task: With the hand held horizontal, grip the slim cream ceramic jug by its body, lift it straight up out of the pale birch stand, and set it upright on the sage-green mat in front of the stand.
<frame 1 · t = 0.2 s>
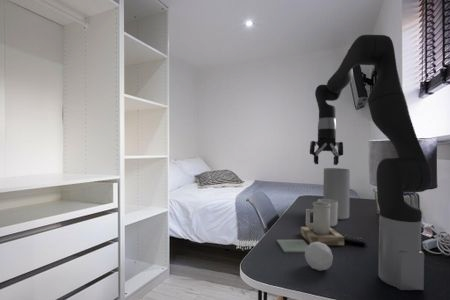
hand: (326, 164, 110), 28 cm above the table, tool pointing down, fingers open, 8 cm apart
cylinder vase: (335, 216, 128), on the table
mat: (294, 246, 88), on the table
jug: (318, 221, 95), in the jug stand
mug: (327, 223, 116), on the table
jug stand: (321, 239, 95), on the table
geometric ball: (318, 269, 72), on the table
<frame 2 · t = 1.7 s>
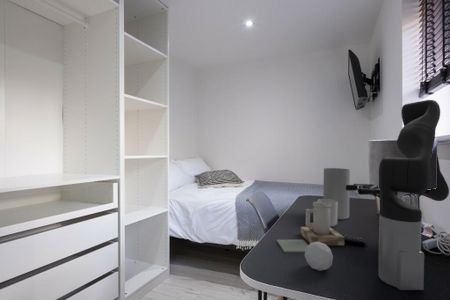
hand: (352, 189, 96), 20 cm above the table, tool horizontal, fingers open, 8 cm apart
nothing on the table moved.
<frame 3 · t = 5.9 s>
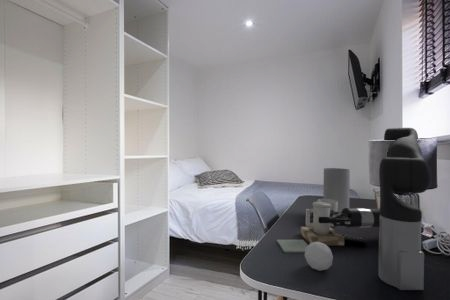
hand: (315, 217, 95), 9 cm above the table, tool horizontal, fingers closed on jug, 6 cm apart
jug: (318, 221, 95), in the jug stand, touching gripper
everything else where it was.
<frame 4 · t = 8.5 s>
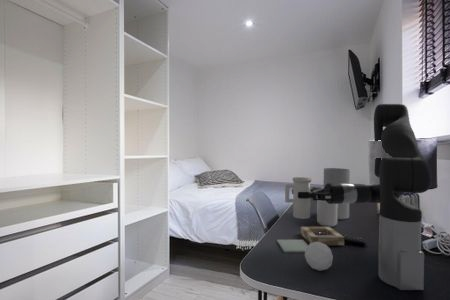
hand: (295, 193, 90), 19 cm above the table, tool horizontal, fingers closed on jug, 6 cm apart
jug: (298, 197, 90), point 17 cm above the table, touching gripper
everything else where it was.
when the fingers open (10 cm above the table, at t = 10.9 s): jug drops 1 cm, resting on mat.
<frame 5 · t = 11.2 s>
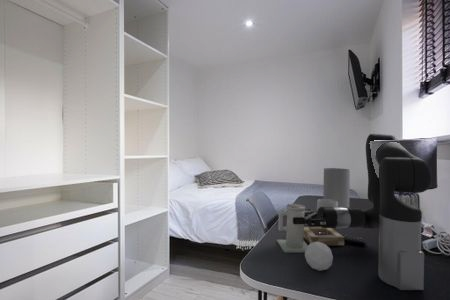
hand: (289, 217, 88), 11 cm above the table, tool horizontal, fingers open, 8 cm apart
jug: (291, 225, 88), on the mat, point 8 cm above the table
everything else where it was.
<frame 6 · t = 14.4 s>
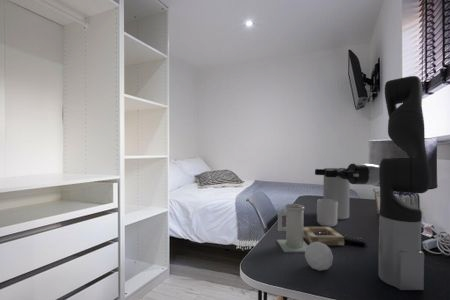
hand: (320, 172, 88), 27 cm above the table, tool horizontal, fingers open, 8 cm apart
nothing on the table moved.
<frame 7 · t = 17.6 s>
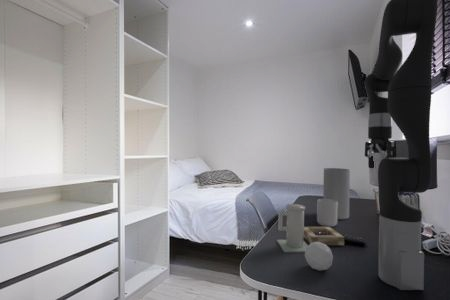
hand: (379, 169, 92), 28 cm above the table, tool pointing down, fingers open, 8 cm apart
nothing on the table moved.
at the end: jug inside the target area (0.1 cm from its centre), point 7.6 cm above the table; jug tilted 1°; the gripper is holding nothing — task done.
